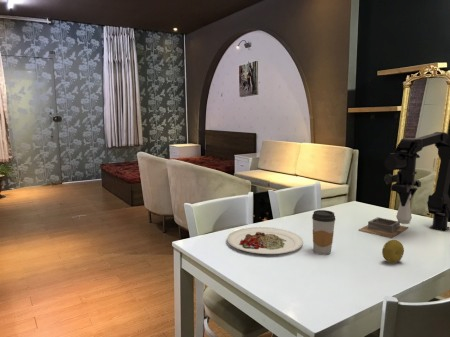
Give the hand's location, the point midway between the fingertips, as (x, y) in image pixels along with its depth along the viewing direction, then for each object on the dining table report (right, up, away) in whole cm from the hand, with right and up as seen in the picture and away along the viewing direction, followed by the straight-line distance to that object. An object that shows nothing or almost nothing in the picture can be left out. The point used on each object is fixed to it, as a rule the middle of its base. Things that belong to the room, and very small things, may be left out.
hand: (404, 205), depth 151 cm
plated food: (-60, -15, -8) cm, 62 cm away
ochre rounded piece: (-18, -17, -27) cm, 36 cm away
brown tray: (-5, -12, +10) cm, 16 cm away
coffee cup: (-40, -16, -17) cm, 46 cm away
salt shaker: (0, -8, +1) cm, 8 cm away
